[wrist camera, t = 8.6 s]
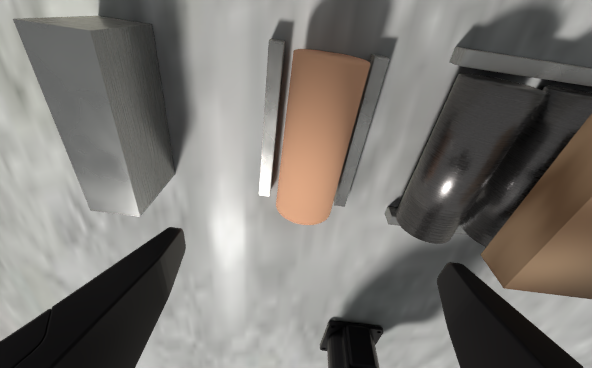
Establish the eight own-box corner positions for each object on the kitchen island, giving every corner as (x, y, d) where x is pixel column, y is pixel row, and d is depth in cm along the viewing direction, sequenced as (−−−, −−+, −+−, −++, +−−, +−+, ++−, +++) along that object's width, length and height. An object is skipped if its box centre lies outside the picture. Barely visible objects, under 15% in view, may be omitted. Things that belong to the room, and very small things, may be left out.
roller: (327, 192, 21) (333, 227, 18) (277, 187, 21) (274, 222, 17) (361, 56, 15) (379, 70, 12) (293, 46, 15) (293, 57, 12)
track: (603, 243, 22) (654, 284, 19) (260, 197, 21) (251, 232, 18) (770, 96, 15) (898, 120, 12) (272, 17, 14) (261, 20, 11)
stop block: (174, 174, 20) (140, 216, 16) (135, 168, 20) (90, 210, 16) (152, 24, 15) (89, 30, 10) (97, 15, 15) (12, 18, 10)
